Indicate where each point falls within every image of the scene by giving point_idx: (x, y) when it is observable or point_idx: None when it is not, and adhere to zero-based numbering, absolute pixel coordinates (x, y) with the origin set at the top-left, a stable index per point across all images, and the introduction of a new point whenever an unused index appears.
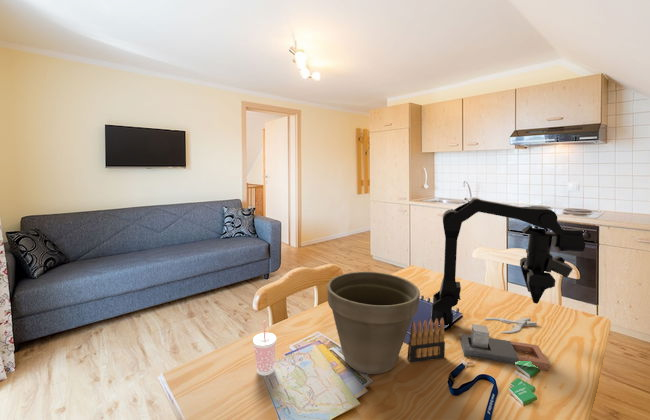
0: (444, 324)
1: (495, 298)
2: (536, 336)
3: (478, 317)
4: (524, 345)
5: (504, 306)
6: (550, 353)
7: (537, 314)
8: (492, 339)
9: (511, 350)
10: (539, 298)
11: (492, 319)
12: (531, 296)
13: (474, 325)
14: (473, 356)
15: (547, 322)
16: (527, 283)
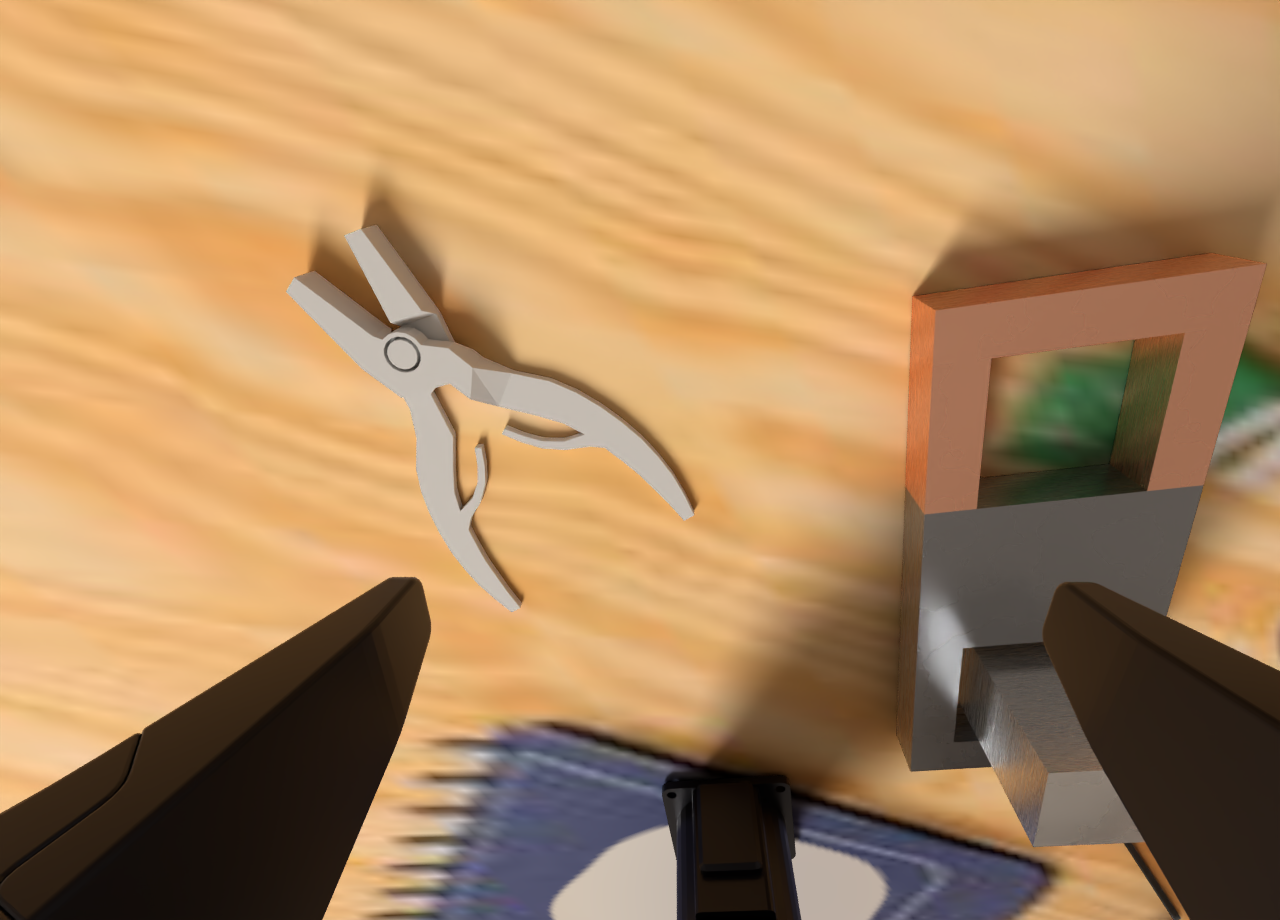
0: (781, 821)
1: (8, 514)
2: (618, 258)
3: (508, 640)
4: (972, 420)
5: (132, 458)
6: (909, 183)
7: (65, 168)
8: (939, 620)
9: (1082, 520)
10: (1262, 679)
11: (488, 562)
12: (1121, 786)
13: (1057, 835)
14: None
15: (205, 87)
16: (348, 816)
